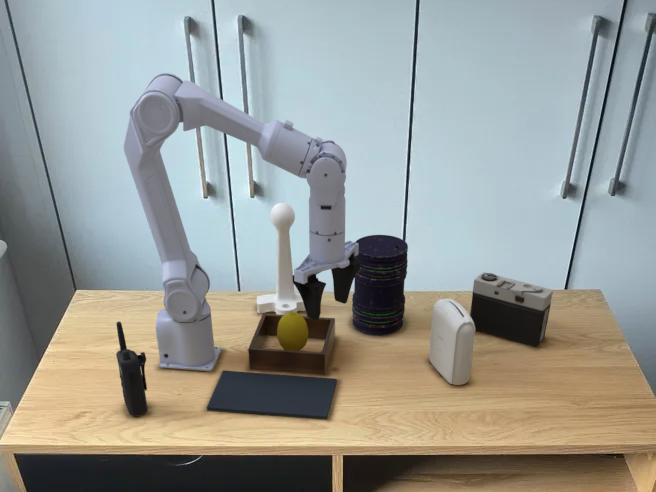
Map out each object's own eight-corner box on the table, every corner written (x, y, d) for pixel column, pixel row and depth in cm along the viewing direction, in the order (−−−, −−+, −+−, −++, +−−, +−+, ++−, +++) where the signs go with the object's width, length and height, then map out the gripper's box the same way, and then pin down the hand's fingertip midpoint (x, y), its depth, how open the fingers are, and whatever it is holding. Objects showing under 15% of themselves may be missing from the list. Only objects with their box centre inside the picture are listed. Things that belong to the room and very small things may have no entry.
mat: (207, 410, 141) (206, 407, 141) (223, 373, 150) (222, 370, 149) (327, 419, 139) (327, 416, 139) (336, 381, 148) (336, 378, 148)
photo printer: (425, 359, 154) (430, 293, 145) (446, 355, 155) (453, 289, 146) (449, 388, 147) (457, 320, 138) (472, 383, 148) (481, 316, 139)
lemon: (297, 364, 152) (296, 322, 147) (272, 355, 154) (269, 314, 149) (314, 351, 155) (314, 309, 150) (289, 343, 158) (287, 301, 152)
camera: (553, 330, 162) (563, 279, 155) (535, 348, 157) (545, 296, 150) (485, 312, 167) (492, 261, 160) (467, 328, 162) (473, 277, 155)
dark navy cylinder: (346, 332, 161) (347, 253, 150) (357, 309, 167) (359, 232, 157) (399, 338, 159) (403, 259, 149) (407, 314, 166) (412, 237, 156)
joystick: (314, 303, 169) (312, 198, 155) (315, 321, 164) (314, 214, 150) (257, 304, 169) (251, 199, 155) (257, 322, 163) (250, 215, 149)
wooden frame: (249, 369, 151) (248, 349, 148) (264, 333, 160) (262, 313, 157) (325, 375, 149) (324, 354, 147) (335, 338, 159) (335, 318, 156)
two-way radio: (123, 402, 143) (107, 318, 132) (150, 397, 144) (136, 313, 133) (130, 420, 139) (114, 334, 129) (157, 414, 140) (143, 329, 130)
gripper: (318, 249, 130) (319, 332, 139) (374, 220, 138) (371, 300, 148) (282, 238, 133) (285, 319, 142) (339, 210, 141) (339, 289, 151)
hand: (327, 309), depth 145 cm, fingers open, 7 cm apart
